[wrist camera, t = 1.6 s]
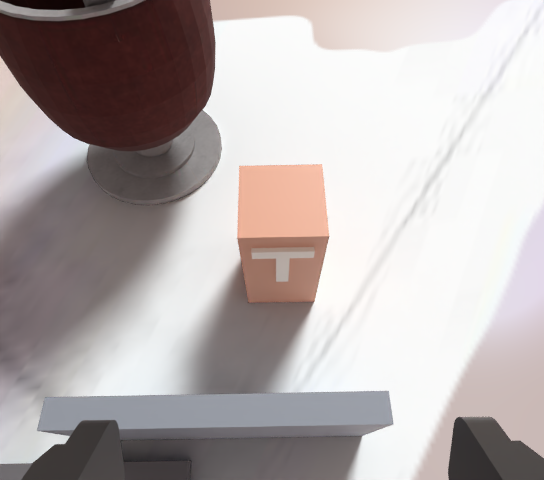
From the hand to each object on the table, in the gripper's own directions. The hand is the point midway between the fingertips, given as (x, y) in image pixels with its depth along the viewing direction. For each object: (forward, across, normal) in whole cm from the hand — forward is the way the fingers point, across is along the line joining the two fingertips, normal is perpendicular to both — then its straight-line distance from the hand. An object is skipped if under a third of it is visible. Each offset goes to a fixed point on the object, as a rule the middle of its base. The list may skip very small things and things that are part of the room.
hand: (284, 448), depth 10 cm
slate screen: (+14, +3, +12) cm, 19 cm away
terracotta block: (+22, 0, +4) cm, 23 cm away
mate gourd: (+31, +11, -5) cm, 33 cm away
